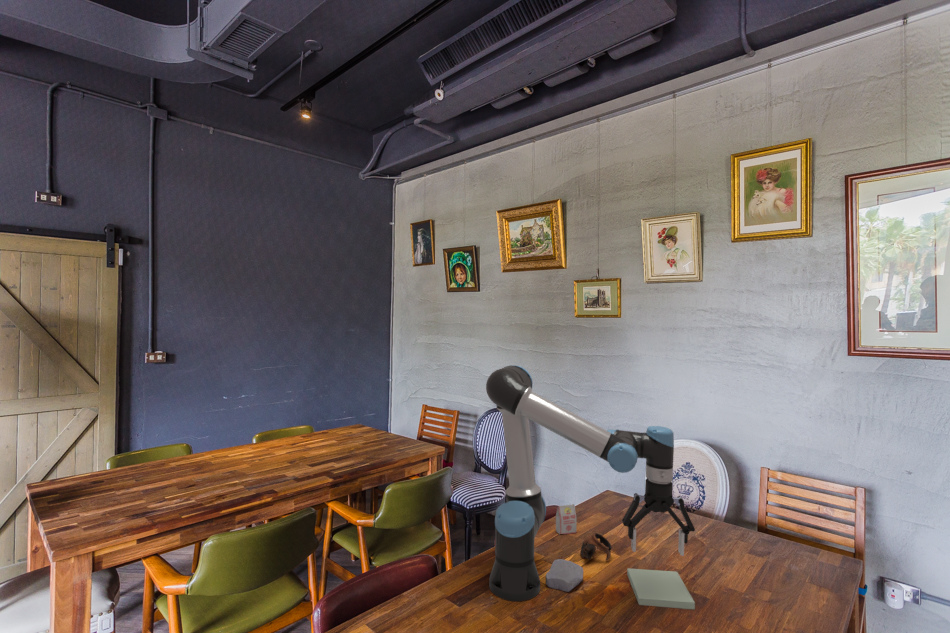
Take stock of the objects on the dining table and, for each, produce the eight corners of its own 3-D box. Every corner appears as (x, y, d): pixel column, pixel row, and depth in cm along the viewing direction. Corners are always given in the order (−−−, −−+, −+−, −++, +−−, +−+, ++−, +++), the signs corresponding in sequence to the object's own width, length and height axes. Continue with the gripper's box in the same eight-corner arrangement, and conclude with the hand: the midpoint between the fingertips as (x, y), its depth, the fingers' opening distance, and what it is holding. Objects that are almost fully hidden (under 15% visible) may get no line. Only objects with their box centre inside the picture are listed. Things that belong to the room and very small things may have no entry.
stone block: (584, 580, 146) (553, 567, 150) (587, 566, 145) (556, 553, 150) (575, 602, 135) (542, 587, 139) (578, 587, 135) (545, 572, 139)
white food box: (555, 530, 177) (555, 504, 177) (571, 528, 179) (571, 502, 179) (560, 535, 174) (560, 508, 174) (576, 532, 176) (576, 506, 176)
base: (638, 605, 131) (638, 598, 131) (627, 574, 147) (627, 568, 147) (694, 609, 129) (694, 602, 129) (677, 578, 145) (677, 571, 145)
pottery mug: (584, 547, 164) (596, 528, 164) (606, 568, 159) (618, 548, 158) (570, 553, 155) (582, 533, 154) (592, 575, 149) (606, 554, 148)
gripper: (618, 481, 136) (616, 554, 136) (708, 487, 133) (706, 561, 133) (613, 472, 143) (611, 541, 143) (698, 478, 140) (696, 548, 140)
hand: (657, 551), depth 138 cm, fingers open, 13 cm apart
